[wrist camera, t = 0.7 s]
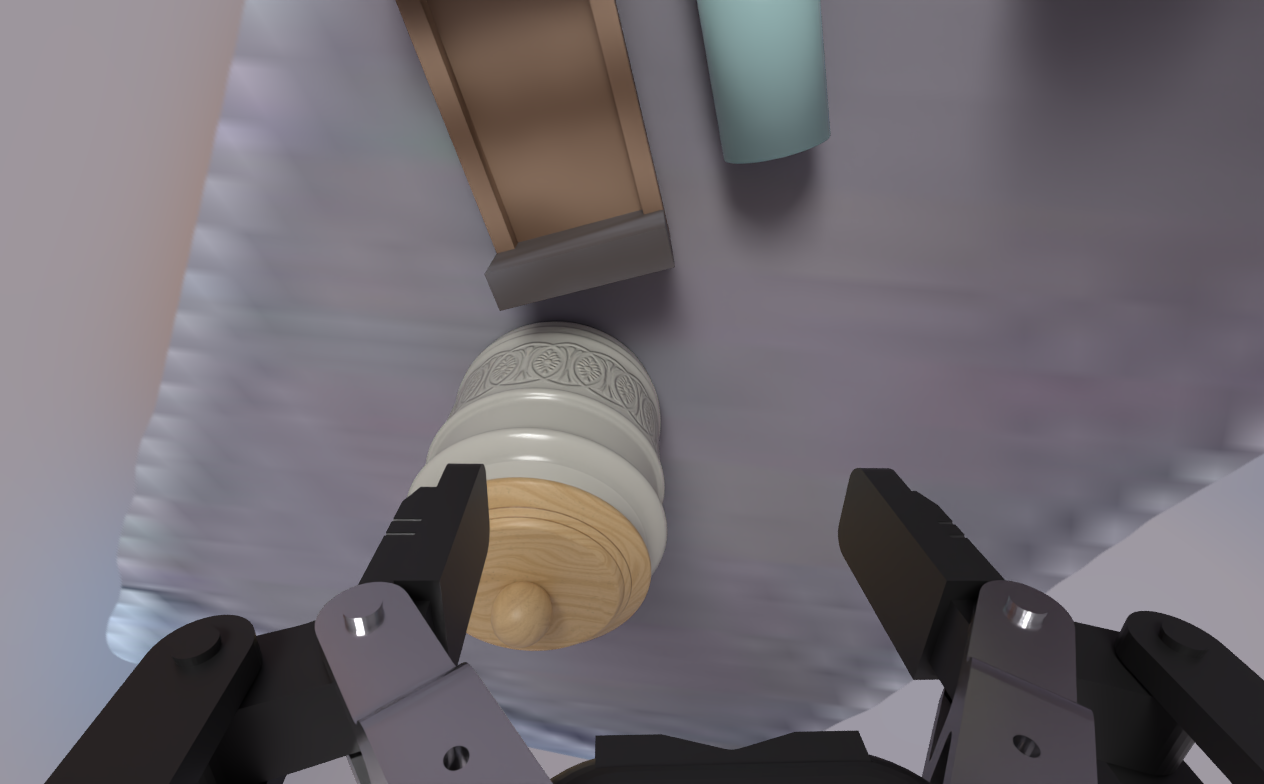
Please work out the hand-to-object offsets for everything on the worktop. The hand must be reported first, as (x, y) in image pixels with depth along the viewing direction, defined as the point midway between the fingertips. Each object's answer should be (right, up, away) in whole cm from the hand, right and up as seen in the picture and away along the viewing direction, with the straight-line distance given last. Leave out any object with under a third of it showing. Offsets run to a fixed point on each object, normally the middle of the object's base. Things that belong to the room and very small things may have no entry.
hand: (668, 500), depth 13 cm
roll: (+5, +18, +13) cm, 23 cm away
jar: (-5, +2, +26) cm, 27 cm away
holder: (-5, +17, +16) cm, 24 cm away
